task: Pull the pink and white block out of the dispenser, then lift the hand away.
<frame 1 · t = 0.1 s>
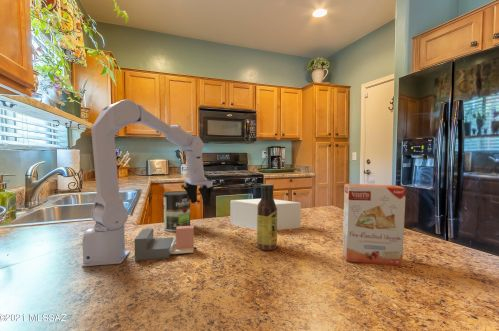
hand: (200, 203, 88), 10 cm above the countertop, tool pointing down, fingers open, 7 cm apart
cracker box: (371, 260, 64), on the countertop
sauce bottle: (266, 247, 73), on the countertop
white rectangular box: (264, 226, 96), on the countertop
coffee can: (177, 228, 93), on the countertop
pink and white block: (167, 239, 69), point 4 cm above the countertop, slide at 0.0 cm
dispenser: (155, 252, 69), on the countertop
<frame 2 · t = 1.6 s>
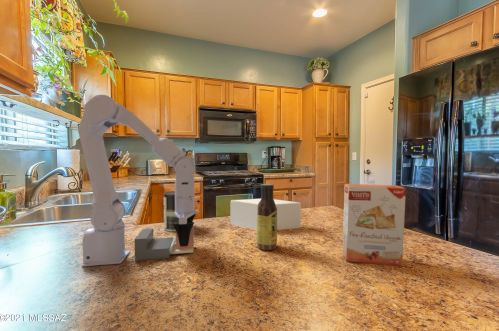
hand: (185, 241, 70), 3 cm above the countertop, tool pointing down, fingers open, 7 cm apart
nothing on the countertop moved.
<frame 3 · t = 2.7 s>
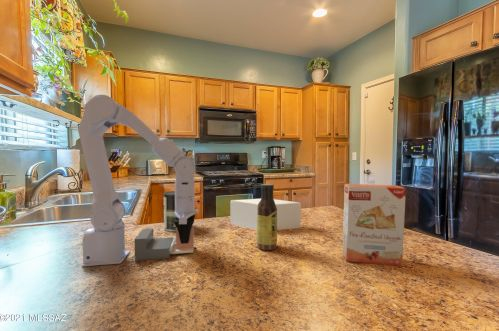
hand: (185, 241, 70), 3 cm above the countertop, tool pointing down, fingers closed on pink and white block, 2 cm apart
pink and white block: (167, 239, 69), point 4 cm above the countertop, slide at 0.0 cm, touching gripper
everything else where it was.
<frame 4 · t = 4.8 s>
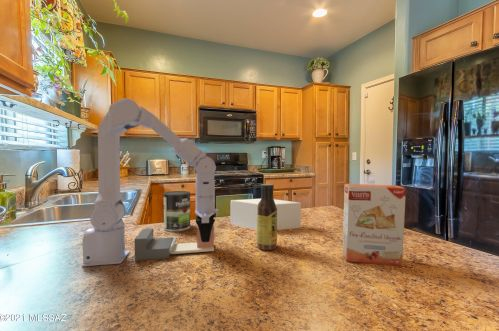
hand: (205, 239, 72), 3 cm above the countertop, tool pointing down, fingers closed on pink and white block, 2 cm apart
pink and white block: (187, 237, 71), point 4 cm above the countertop, slide at 6.0 cm, touching gripper
everything else where it was.
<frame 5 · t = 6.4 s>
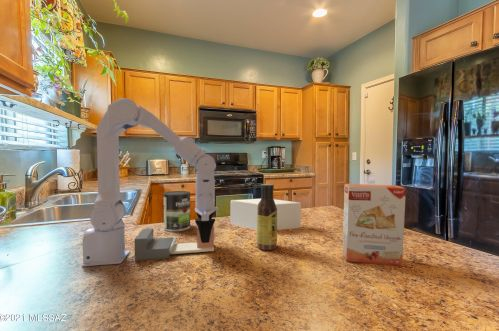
hand: (205, 237, 72), 4 cm above the countertop, tool pointing down, fingers open, 7 cm apart
pink and white block: (187, 237, 71), point 4 cm above the countertop, slide at 6.0 cm
everything else where it was.
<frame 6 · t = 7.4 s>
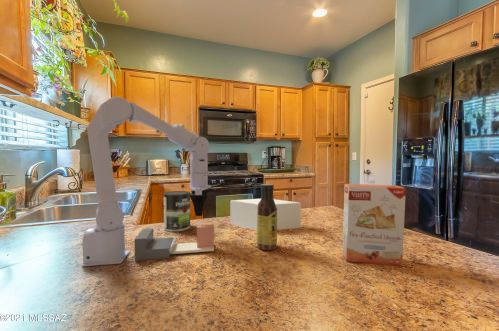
hand: (199, 212, 79), 9 cm above the countertop, tool pointing down, fingers open, 7 cm apart
nothing on the countertop moved.
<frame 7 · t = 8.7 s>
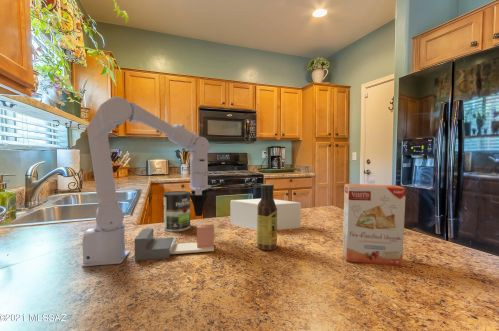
hand: (199, 212, 79), 9 cm above the countertop, tool pointing down, fingers open, 7 cm apart
nothing on the countertop moved.
at the end: pink and white block slide at 6.0 cm; the gripper is holding nothing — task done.
